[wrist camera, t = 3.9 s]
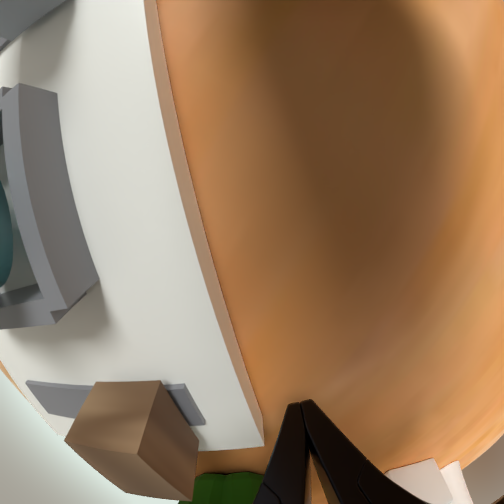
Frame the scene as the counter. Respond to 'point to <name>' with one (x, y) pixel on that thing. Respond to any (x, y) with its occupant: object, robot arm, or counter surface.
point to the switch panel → (109, 228)
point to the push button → (5, 238)
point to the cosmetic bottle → (456, 483)
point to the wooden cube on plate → (137, 439)
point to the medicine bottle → (422, 481)
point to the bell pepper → (225, 488)
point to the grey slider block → (22, 15)
